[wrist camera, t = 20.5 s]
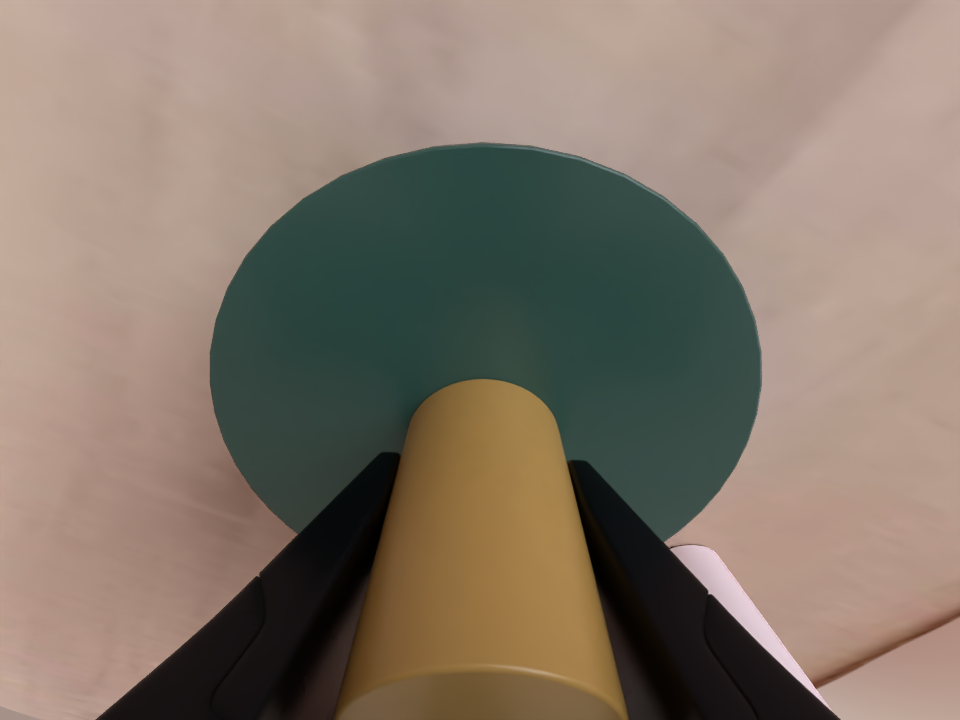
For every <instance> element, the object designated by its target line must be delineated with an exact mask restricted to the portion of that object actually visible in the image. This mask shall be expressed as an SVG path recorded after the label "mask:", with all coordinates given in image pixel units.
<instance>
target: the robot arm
mask: <svg viewBox="0 0 960 720" xmlns="http://www.w3.org/2000/svg"><path fill="white" fill-rule="evenodd" d="M400 459H401V456H400V454H399V453H398V452H381V453H379V454H378V455H377V456H376V457H375V458H374V459H373V460H372V461H371V462H370V463H369V464H368V465H367V466H366V467H365V468H364V469H363V470H362V471H361V472H360V473H359V474H358V475H357V476H356V477H355V478H354V479H353V480H352V481H351V482H350V483H349V484H348V485H347V486H346V487H345V488H344V489H343V490H342V491H341V492H340V493H339V494H338V495H337V496H336V497H335V498H334V499H333V500H332V501H331V502H330V503H329V504H328V505H327V506H326V507H325V508H324V509H323V510H322V511H321V512H320V513H319V514H318V515H317V516H316V517H315V518H314V519H313V520H312V521H311V522H310V523H309V524H308V525H307V526H306V527H305V528H304V529H303V530H302V531H301V532H300V533H299V534H298V535H297V536H296V537H295V538H294V539H293V540H292V541H291V542H290V543H289V544H288V545H287V546H286V547H285V548H284V549H283V550H282V551H281V552H280V553H279V554H278V555H277V556H276V557H275V558H274V559H273V560H272V561H271V562H270V563H269V564H268V565H267V566H266V567H265V568H264V569H263V570H262V571H261V572H260V573H259V577H258V576H256V577H255V578H254V579H253V580H252V581H251V582H250V583H249V584H248V585H247V586H246V587H245V588H244V589H243V590H242V591H241V592H240V593H239V594H238V595H237V596H236V597H234V598H233V599H232V600H231V601H230V602H229V603H228V604H227V605H226V606H225V607H224V608H223V609H222V610H221V611H220V612H219V613H218V614H217V615H216V616H215V617H214V618H213V619H211V620H210V621H209V622H208V623H207V624H206V625H205V626H204V627H203V628H201V629H200V630H199V631H198V632H197V633H196V634H195V635H194V636H192V637H191V638H190V639H189V640H188V641H187V642H186V643H184V644H183V645H182V646H181V647H180V648H179V649H178V650H177V651H175V652H174V653H173V654H172V655H171V656H170V657H168V658H167V659H166V660H165V661H164V662H163V663H161V664H160V665H159V666H158V667H157V668H156V669H154V670H153V671H152V672H151V673H150V674H149V675H147V676H146V677H145V678H144V679H143V680H141V681H140V682H139V683H138V684H137V685H136V686H134V687H133V688H132V689H131V690H130V691H129V692H127V693H126V694H125V695H124V696H123V697H122V698H120V699H119V700H118V701H117V702H116V703H115V704H113V705H112V706H111V707H110V708H109V709H108V710H106V711H105V712H104V713H103V714H102V715H101V716H99V717H98V718H97V719H96V720H333V715H334V711H335V707H336V704H337V700H338V696H339V692H340V688H341V684H342V681H343V677H344V673H345V669H346V665H347V661H348V658H349V654H350V650H351V646H352V642H353V638H354V635H355V631H356V627H357V623H358V619H359V615H360V612H361V608H362V604H363V600H364V596H365V593H366V589H367V585H368V581H369V577H370V573H371V570H372V566H373V562H374V558H375V554H376V550H377V547H378V543H379V539H380V535H381V531H382V527H383V524H384V520H385V516H386V512H387V508H388V504H389V501H390V497H391V493H392V489H393V485H394V481H395V478H396V474H397V470H398V466H399V462H400ZM567 466H568V470H569V474H570V478H571V482H572V486H573V490H574V494H575V499H576V503H577V507H578V511H579V515H580V519H581V523H582V527H583V531H584V535H585V540H586V544H587V548H588V552H589V556H590V560H591V564H592V568H593V572H594V576H595V581H596V585H597V589H598V593H599V597H600V601H601V605H602V609H603V613H604V618H605V622H606V626H607V630H608V634H609V638H610V642H611V646H612V650H613V654H614V659H615V663H616V667H617V671H618V675H619V679H620V683H621V687H622V691H623V695H624V700H625V704H626V708H627V712H628V716H629V720H840V719H839V718H838V717H837V716H836V715H835V714H834V713H833V712H832V711H831V710H830V709H829V708H828V707H827V706H825V705H824V704H823V703H822V702H821V701H820V700H819V699H818V698H817V697H816V696H815V695H814V694H813V693H811V692H810V691H809V690H808V689H807V688H806V687H805V686H804V685H803V684H802V683H801V682H800V681H798V680H797V679H796V678H795V677H794V676H793V675H792V674H791V673H790V672H789V671H788V670H787V669H786V668H785V667H784V666H783V665H782V664H781V663H779V662H778V661H777V660H776V659H775V658H774V657H773V656H772V655H771V654H770V653H769V652H768V651H767V650H766V649H765V648H764V647H763V646H762V645H761V644H760V643H759V642H758V641H757V640H756V639H755V638H754V637H753V636H752V635H751V634H750V633H749V632H748V631H747V630H746V629H745V628H744V627H743V626H742V625H741V624H740V623H739V622H738V621H737V620H736V619H735V618H734V617H733V616H732V615H731V614H730V613H729V612H728V611H727V609H726V608H725V607H724V606H723V605H722V604H721V603H720V602H719V601H718V600H717V599H716V598H715V597H714V596H713V595H712V594H709V591H708V589H707V588H706V587H705V586H704V585H703V584H702V583H701V582H700V581H699V580H698V579H697V578H696V577H695V576H694V574H693V573H692V572H691V571H690V570H689V569H688V568H687V567H686V566H685V565H684V564H683V563H682V562H681V561H680V560H679V558H678V557H677V556H676V555H675V554H674V553H673V552H672V551H671V550H670V549H669V548H668V547H667V546H666V545H665V543H664V542H663V541H662V540H661V539H660V538H659V537H658V536H657V535H656V534H655V533H654V532H653V531H652V530H651V529H650V527H649V526H648V525H647V524H646V523H645V522H644V521H643V520H642V519H641V518H640V517H639V516H638V515H637V514H636V513H635V511H634V510H633V509H632V508H631V507H630V506H629V505H628V504H627V503H626V502H625V501H624V500H623V499H622V498H621V497H620V495H619V494H618V493H617V492H616V491H615V490H614V489H613V488H612V487H611V486H610V485H609V484H608V483H607V482H606V480H605V479H604V478H603V477H602V476H601V475H600V474H599V473H598V472H597V471H596V470H595V469H594V468H593V467H592V466H591V464H590V463H589V462H587V461H585V460H569V461H567ZM708 594H709V595H708Z"/></svg>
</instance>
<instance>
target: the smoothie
mask: <svg viewBox="0 0 960 720" xmlns="http://www.w3.org/2000/svg"><path fill="white" fill-rule="evenodd" d="M670 550H671V551H672V552H673V553H674V554H675V555H676V556H677V557H678V558H679V560H680V561H681V562H682V563H683V564H684V565H685V566H686V567H687V568H688V569H689V570H690V571H691V572H692V573H693V574H694V576H695V577H696V578H697V579H698V580H699V581H700V582H701V583H702V584H703V585H704V586H705V587H706V588H707V589H708V591H709V594H712V595H713V596H714V597H715V598H716V599H717V600H718V601H719V602H720V603H721V604H722V605H723V606H724V607H725V608H726V609H727V611H728V612H729V613H730V614H731V615H732V616H733V617H734V618H735V619H736V620H737V621H738V622H739V623H740V624H741V625H742V626H743V627H744V628H745V629H746V630H747V631H748V632H749V633H750V634H751V635H752V636H753V637H754V638H755V639H756V640H757V641H758V642H759V643H760V644H761V645H762V646H763V647H764V648H765V649H766V650H767V651H768V652H769V653H770V654H771V655H772V656H773V657H774V658H775V659H776V660H777V661H778V662H779V663H781V664H782V665H783V666H784V667H785V668H786V669H787V670H788V671H789V672H790V673H791V674H792V675H793V676H794V677H795V678H796V679H797V680H798V681H800V682H801V683H802V684H803V685H804V686H805V687H806V688H807V689H808V690H809V691H810V692H811V693H813V694H814V695H815V696H816V697H817V698H818V699H819V700H820V701H821V702H822V703H823V704H824V705H825V706H827V707H828V708H829V706H828V705H827V704H826V702H825V701H824V700H823V698H822V697H821V695H820V694H819V693H818V692H817V690H816V689H815V687H814V686H813V684H812V683H811V682H810V680H809V679H808V678H807V676H806V675H805V674H804V672H803V671H802V669H801V668H800V667H799V665H798V664H797V663H796V661H795V660H794V658H793V657H792V656H791V654H790V653H789V652H788V650H787V649H786V648H785V646H784V645H783V643H782V642H781V641H780V639H779V638H778V637H777V635H776V634H775V632H774V631H773V630H772V628H771V627H770V626H769V624H768V623H767V622H766V620H765V619H764V617H763V616H762V615H761V613H760V612H759V611H758V609H757V608H756V606H755V605H754V604H753V602H752V601H751V600H750V598H749V597H748V596H747V594H746V593H745V591H744V590H743V589H742V587H741V586H740V585H739V583H738V582H737V580H736V579H735V578H734V576H733V575H732V574H731V572H730V571H729V570H728V568H727V567H726V565H725V564H724V563H723V561H722V560H721V559H720V557H719V556H718V554H717V553H716V552H715V551H713V550H712V549H710V548H707V547H704V546H698V545H685V546H679V547H675V548H671V549H670ZM709 594H708V595H709ZM829 709H830V708H829ZM830 710H831V709H830Z"/></svg>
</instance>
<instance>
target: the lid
mask: <svg viewBox="0 0 960 720" xmlns="http://www.w3.org/2000/svg"><path fill="white" fill-rule="evenodd" d="M761 386H762V362H761V348H760V343H759V337H758V332H757V326H756V321H755V318H754V315H753V312H752V310H751V307H750V304H749V302H748V299H747V296H746V294H745V291H744V289H743V286H742V284H741V283H740V281H739V279H738V278H737V276H736V274H735V273H734V271H733V269H732V268H731V266H730V264H729V263H728V261H727V259H726V258H725V256H724V254H723V253H722V252H721V251H720V250H719V248H718V247H717V246H716V245H715V244H714V243H713V242H712V240H711V239H710V238H709V237H708V236H707V235H706V233H705V232H704V231H703V230H702V229H701V228H700V227H699V225H698V224H697V223H696V222H694V221H693V220H692V219H691V218H689V217H688V216H687V215H686V214H685V213H683V212H682V211H681V210H680V209H678V208H677V207H676V206H675V205H674V204H672V203H671V202H670V201H669V200H668V199H666V198H665V197H664V196H662V195H660V194H659V193H657V192H655V191H653V190H652V189H650V188H648V187H647V186H645V185H643V184H641V183H640V182H638V181H636V180H634V179H633V178H631V177H629V176H628V175H626V174H624V173H621V172H619V171H616V170H613V169H611V168H608V167H606V166H603V165H600V164H598V163H595V162H593V161H590V160H588V159H585V158H582V157H580V156H576V155H571V154H567V153H562V152H558V151H553V150H548V149H544V148H539V147H535V146H530V145H516V144H501V143H486V142H480V143H467V144H455V145H443V146H434V147H429V148H425V149H421V150H417V151H412V152H408V153H404V154H400V155H395V156H391V157H387V158H384V159H381V160H379V161H376V162H374V163H372V164H369V165H367V166H364V167H362V168H359V169H357V170H354V171H352V172H349V173H347V174H344V175H342V176H340V177H338V178H337V179H335V180H333V181H332V182H330V183H328V184H327V185H325V186H323V187H322V188H320V189H318V190H317V191H315V192H313V193H312V194H310V195H308V196H307V197H305V198H303V199H302V200H301V201H300V202H299V203H297V204H296V205H295V206H294V207H293V208H292V209H290V210H289V211H288V212H287V213H286V214H284V215H283V216H282V217H281V218H280V219H279V220H277V221H276V222H275V223H274V224H273V225H271V227H270V228H269V229H268V230H267V231H266V233H265V234H264V235H263V236H262V237H261V238H260V240H259V241H258V242H257V243H256V244H255V246H254V247H253V248H252V249H251V250H250V252H249V253H248V254H247V255H246V257H245V258H244V260H243V262H242V264H241V265H240V267H239V269H238V270H237V272H236V274H235V276H234V277H233V279H232V281H231V283H230V284H229V286H228V288H227V291H226V293H225V296H224V299H223V302H222V304H221V307H220V310H219V313H218V315H217V318H216V322H215V327H214V333H213V339H212V344H211V350H210V387H211V393H212V399H213V406H214V412H215V415H216V418H217V421H218V425H219V428H220V431H221V434H222V437H223V440H224V442H225V444H226V446H227V448H228V450H229V452H230V454H231V456H232V458H233V460H234V462H235V464H236V466H237V468H238V469H239V471H240V472H241V474H242V475H243V477H244V478H245V480H246V481H247V483H248V484H249V485H250V487H251V488H252V490H253V491H254V492H255V493H256V494H257V495H258V497H259V498H260V499H261V500H262V501H263V502H264V503H265V505H266V506H267V507H268V508H269V509H270V510H271V511H272V512H273V513H274V514H275V515H276V516H277V517H278V518H280V519H281V520H282V521H283V522H284V523H285V524H286V525H287V526H288V527H289V528H291V529H292V530H293V531H295V532H296V533H297V534H299V533H300V532H301V531H302V530H303V529H304V528H305V527H306V526H307V525H308V524H309V523H310V522H311V521H312V520H313V519H314V518H315V517H316V516H317V515H318V514H319V513H320V512H321V511H322V510H323V509H324V508H325V507H326V506H327V505H328V504H329V503H330V502H331V501H332V500H333V499H334V498H335V497H336V496H337V495H338V494H339V493H340V492H341V491H342V490H343V489H344V488H345V487H346V486H347V485H348V484H349V483H350V482H351V481H352V480H353V479H354V478H355V477H356V476H357V475H358V474H359V473H360V472H361V471H362V470H363V469H364V468H365V467H366V466H367V465H368V464H369V463H370V462H371V461H372V460H373V459H374V458H375V457H376V456H377V455H378V454H379V453H381V452H398V453H399V454H400V456H401V459H400V462H399V466H398V470H397V474H396V478H395V481H394V485H393V489H392V493H391V497H390V501H389V504H388V508H387V512H386V516H385V520H384V524H383V527H382V531H381V535H380V539H379V543H378V547H377V550H376V554H375V558H374V562H373V566H372V570H371V573H370V577H369V581H368V585H367V589H366V593H365V596H364V600H363V604H362V608H361V612H360V615H359V619H358V623H357V627H356V631H355V635H354V638H353V642H352V646H351V650H350V654H349V658H348V661H347V665H346V669H345V673H344V677H343V681H342V684H341V688H340V692H339V696H338V700H337V704H336V707H335V711H334V715H333V720H629V716H628V712H627V708H626V704H625V700H624V695H623V691H622V687H621V683H620V679H619V675H618V671H617V667H616V663H615V659H614V654H613V650H612V646H611V642H610V638H609V634H608V630H607V626H606V622H605V618H604V613H603V609H602V605H601V601H600V597H599V593H598V589H597V585H596V581H595V576H594V572H593V568H592V564H591V560H590V556H589V552H588V548H587V544H586V540H585V535H584V531H583V527H582V523H581V519H580V515H579V511H578V507H577V503H576V499H575V494H574V490H573V486H572V482H571V478H570V474H569V470H568V466H567V461H569V460H585V461H587V462H589V463H590V464H591V466H592V467H593V468H594V469H595V470H596V471H597V472H598V473H599V474H600V475H601V476H602V477H603V478H604V479H605V480H606V482H607V483H608V484H609V485H610V486H611V487H612V488H613V489H614V490H615V491H616V492H617V493H618V494H619V495H620V497H621V498H622V499H623V500H624V501H625V502H626V503H627V504H628V505H629V506H630V507H631V508H632V509H633V510H634V511H635V513H636V514H637V515H638V516H639V517H640V518H641V519H642V520H643V521H644V522H645V523H646V524H647V525H648V526H649V527H650V529H651V530H652V531H653V532H654V533H655V534H656V535H657V536H658V537H659V538H660V539H661V540H662V541H663V542H665V541H666V540H668V539H669V538H670V537H672V536H673V535H674V534H676V533H677V532H679V531H680V530H681V529H682V528H683V527H685V526H686V525H687V524H688V523H689V522H690V521H691V520H692V519H693V518H695V517H696V516H697V515H698V514H699V513H700V512H701V511H702V510H703V509H704V508H705V507H706V505H707V504H708V503H709V502H710V501H711V500H712V499H713V497H714V496H715V495H716V494H717V493H718V492H719V491H720V489H721V488H722V486H723V485H724V483H725V482H726V480H727V479H728V477H729V476H730V474H731V473H732V472H733V470H734V469H735V467H736V465H737V463H738V461H739V459H740V457H741V455H742V453H743V451H744V449H745V447H746V445H747V443H748V440H749V437H750V434H751V431H752V428H753V425H754V422H755V419H756V416H757V411H758V405H759V398H760V392H761Z"/></svg>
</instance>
